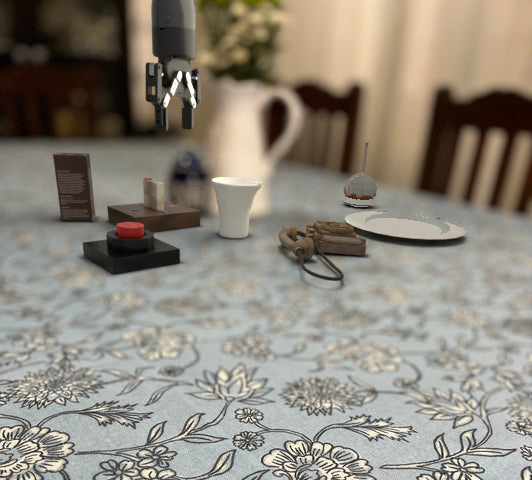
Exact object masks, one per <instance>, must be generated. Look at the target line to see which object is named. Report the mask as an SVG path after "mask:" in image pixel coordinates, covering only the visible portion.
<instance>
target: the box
mask: <svg viewBox="0 0 532 480" xmlns="http://www.w3.org/2000/svg"><path fill="white" fill-rule="evenodd" d="M52 159H53V166H54V167H53V168H54V173H55V181H56V189H57V196H58V206H59V213H60V220H61V221H62V222H63V221H87V222H89V221H90V222H94V220H95V219H96V209H95V198H94V187H93V178H92V167H91V156H90V153H86V152H85V153H83V152H55V153H53V154H52Z"/></svg>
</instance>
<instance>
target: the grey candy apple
mask: <svg viewBox="0 0 532 480" xmlns="http://www.w3.org/2000/svg"><path fill="white" fill-rule="evenodd" d="M368 149H369V142H368V141H367V142H366V141H365V143H364V148H363V156H362V157H363V158H362V164H361V170H360V171H361V172H356V174H353V175H351V176H350V177H349V178H348V179H347V181H346V182H347V183H344V186H343V190H342V191H343V194H344V197H348V198H352V199H356V200H357V199H360V200H369V199H373V200H374V198H375V197H376V196H377V190H378V186H377V185H376V184H377V181H375V179H374V178H373V176H370V175H369V174H367V173H365V172H366V171H365V170H366V165H367V156H368ZM343 202H344V201H343V200H342V203H343ZM344 203H346V202H344ZM344 203H343V204H344ZM348 204H349V205H353V206H354V205H355V206H369V207H372V206H371V205H356V204H350V203H346V204H345V205H348ZM349 205H348V206H349Z"/></svg>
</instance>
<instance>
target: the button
mask: <svg viewBox="0 0 532 480" xmlns="http://www.w3.org/2000/svg"><path fill="white" fill-rule="evenodd" d="M115 229H116V230H117V236H118V237H124V238H136V237H143V236H144V225H143V224H141V223H138V222H122V223H118V224H116V225H115Z"/></svg>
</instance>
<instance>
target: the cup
mask: <svg viewBox="0 0 532 480" xmlns="http://www.w3.org/2000/svg"><path fill="white" fill-rule="evenodd" d="M211 185H212V188H213V190H214V192H215V198H216V204H217V208H218V234H219V236H221V237H223V238H227V239H244V238H245V239H246V238H247V237H248V236H249V227H250V224H249V223H250V215H251V211H252V208H253V205H254V201H255V196H256V195H257V193H258V191H259V190H260V189H261V188H262V182H261V181H259V180H256V179H253V178H246V177H237V176H236V177H235V176H234V177H232V176H224V177H223V176H221V177H220V176H219V177H214V178H212V179H211Z"/></svg>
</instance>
